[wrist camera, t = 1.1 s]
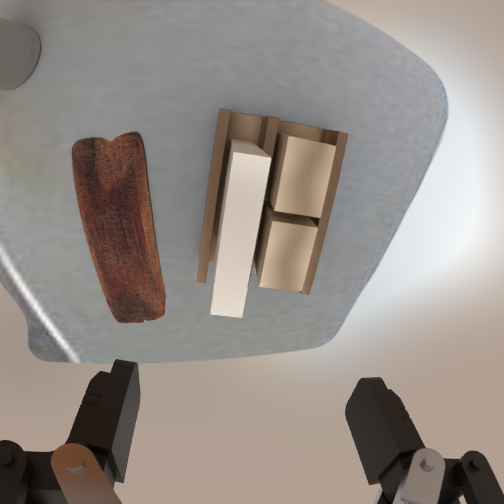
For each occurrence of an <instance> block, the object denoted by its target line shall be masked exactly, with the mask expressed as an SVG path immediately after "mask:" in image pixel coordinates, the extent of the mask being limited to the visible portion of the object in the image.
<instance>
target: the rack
mask: <svg viewBox="0 0 504 504" xmlns="http://www.w3.org/2000/svg"><path fill="white" fill-rule="evenodd" d="M230 111H231V110H225V109H220V112H219V118H218V124H217V130H216V136H215V143H214V149H213V156H212V163H211V170H210V177H209V184H208V191H207V199H206V206H205V214H204V222H203V230H202V239H201V247H200V256H199V265H198V275H197V282H201V283H206V279H207V270H208V262H209V261H215V249H216V238H217V231H218V224H219V217H220V210H221V203H222V196H223V189H224V182H225V176H226V169H227V163H228V157H229V150H230V144H231V139H236V140H243V141H249V142H253V143H254V144H256V145H257V146H258V147H259V148H260V149H262V150H263V151H264V152H265V153H266V154H267V155H269V156H270V157H271V162H272V156H273V151H274V146H275V140H276V135H277V133H280V134H285V135H290V136H295V137H300V138H305V139H310V140H314V141H318V142H322V143H326V144H330V145H334V146H336V150H335V155H334V159H333V164H332V169H331V173H330V178H329V183H328V187H327V191H326V196H325V200H324V205H323V209H322V213H321V217H320V218H317V217H311V216H309V217H310V219H311V220H312V221H313V222H314V224H315V225H316V226H317V227H318V230H317V234H316V238H315V242H314V246H313V250H312V254H311V258H310V262H309V266H308V269H307V273H306V277H305V281H304V285H303V288H302V291H300V293H301V294H310V290H311V286H312V283H313V279H314V276H315V272H316V268H317V265H318V261H319V257H320V253H321V250H322V246H323V242H324V238H325V234H326V230H327V226H328V222H329V218H330V214H331V210H332V206H333V201H334V197H335V193H336V189H337V184H338V180H339V175H340V171H341V166H342V162H343V157H344V152H345V147H346V143H347V138H348V134H347V133H343V132H339V131H332V130H324V129H319V128H314V127H310V126H305V125H301V124H296V123H291V122H286V121H281V120H279V118H275V117H270V116H268V117H259V116H253V115H246V114H240V113H233V112H230ZM270 167H271V163H270ZM269 173H270V168H269ZM269 173H268V178H269ZM267 184H268V179H267ZM267 184H266V189H267ZM264 200H266V201H269V199H268V197H267V195H266V190H265V195H264ZM263 205H264V201H263ZM262 211H263V206H262ZM261 216H262V212H261ZM260 222H261V217H260ZM260 222H259V227H260ZM258 232H259V228H258ZM257 238H258V233H257ZM256 243H257V239H256ZM255 248H256V244H255ZM254 254H255V250H254ZM252 266H255V262H254V255H253V260H252ZM252 266H251V270H252ZM250 275H251V271H250ZM249 281H250V277H249ZM248 286H249V282H248ZM247 288H248V287H247Z"/></svg>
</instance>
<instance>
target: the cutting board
mask: <svg viewBox="0 0 504 504" xmlns="http://www.w3.org/2000/svg"><path fill="white" fill-rule="evenodd" d="M270 163H271V157H270V156H269V155H267V154H266V153H265V152H264V151H263V150H262V149H260V148H259V147H258V146H257V145H256V144H254V143H253V142H249V141H243V140H236V139H231V144H230V150H229V157H228V163H227V169H226V176H225V182H224V189H223V196H222V203H221V210H220V217H219V224H218V231H217V238H216V249H215V261H214V274H213V287H212V300H211V314H212V315H221V316H230V317H240V318H242V314H243V309H244V304H245V298H246V293H247V287H248V282H249V277H250V271H251V266H252V260H253V255H254V250H255V244H256V239H257V233H258V228H259V222H260V217H261V212H262V206H263V201H264V195H265V190H266V184H267V179H268V173H269V168H270Z"/></svg>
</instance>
